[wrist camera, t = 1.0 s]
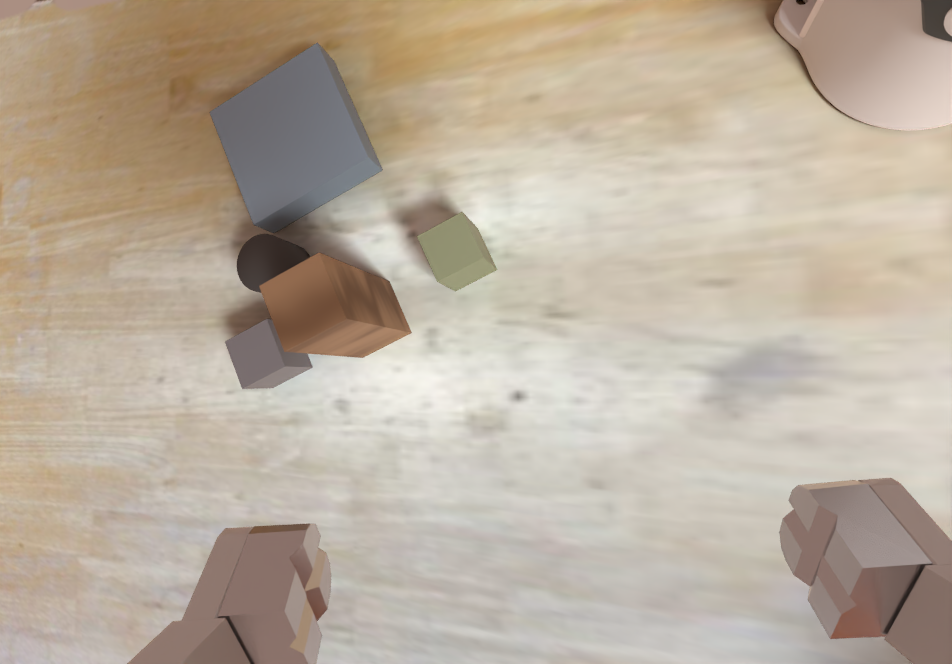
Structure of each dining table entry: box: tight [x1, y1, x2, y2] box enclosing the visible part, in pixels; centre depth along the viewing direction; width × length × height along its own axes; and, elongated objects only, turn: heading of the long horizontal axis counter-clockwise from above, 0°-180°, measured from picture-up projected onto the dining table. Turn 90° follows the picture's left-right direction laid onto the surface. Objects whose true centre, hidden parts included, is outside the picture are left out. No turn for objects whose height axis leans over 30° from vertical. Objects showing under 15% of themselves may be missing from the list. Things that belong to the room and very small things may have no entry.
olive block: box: [417, 212, 497, 291], centre depth 45 cm, size 4×4×5 cm
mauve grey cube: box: [225, 319, 313, 389], centre depth 49 cm, size 4×4×4 cm
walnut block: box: [259, 253, 412, 358], centre depth 44 cm, size 5×5×12 cm
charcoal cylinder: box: [237, 234, 310, 292], centre depth 50 cm, size 5×5×4 cm
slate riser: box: [210, 43, 383, 233], centre depth 51 cm, size 12×12×3 cm
